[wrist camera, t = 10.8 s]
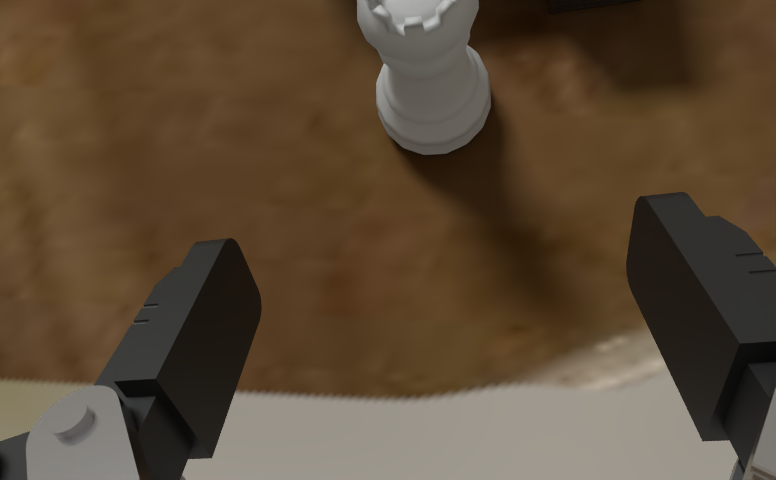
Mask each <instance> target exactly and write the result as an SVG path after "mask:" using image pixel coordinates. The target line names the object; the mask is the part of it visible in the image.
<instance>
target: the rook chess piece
mask: <svg viewBox="0 0 776 480" xmlns="http://www.w3.org/2000/svg"><path fill="white" fill-rule="evenodd" d="M478 9H479V0H357V22H358V24H359V26H360V28H361V30H362V32H363V35H364V37H365V39H366V41H367V42H368V43H370V44H371V45H372V46H373V47H374V48H375V49H376V50H377V51H378V53H379V55H380V57H381V59H382V62H383V63H384V65H383V67H382V70H381V72H380V75H379V77H378V80H377V83H376V106H377V108H378V110H379V116H380V119H381V121H382V123H383V125H384V128H385V130H386V132H387V134H388V135H389V136H390V137H391V138H393V139H394V140H395V141H396V142H397V143H398V144H399V145H400V146H401V147H403V148H405V149H408V150H411V151H414V152H417V153H419V154H422V155H432V154H447V153H449V152H451V151H453V150H455V149H457V148H460V147H462V146H464V145H466V144H468V143H469V142H470V140H471V139H472V138H473V137H474V136H475V135H476V134H477V133H478V132H479V131H480V130H481V129H482V128H483V126H484V123H485V121H486V118H487V116H488V113H489V110H490V108H491V94H490V82H489V74H488V72H487V70H486V68H485V66H484V64H483V62H482V60H481V58H480V56H479V55H478V53H477V52H476V51H474V50H473V49H472V48H471V47H470V46H468V45H467V44H468V41H469V39H470V30H471V27H472V24H473V22H474V19H475V17H476V14H477V12H478Z"/></svg>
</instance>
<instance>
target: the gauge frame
mask: <svg viewBox="0 0 776 480" xmlns="http://www.w3.org/2000/svg"><path fill="white" fill-rule="evenodd" d="M630 1H637V0H548V2H549V10H550V14H551V13H558V12H564V11H571V10H577V9H584V8H591V7H597V6H604V5H611V4H617V3H624V2H630Z"/></svg>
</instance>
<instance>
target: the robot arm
mask: <svg viewBox="0 0 776 480" xmlns="http://www.w3.org/2000/svg"><path fill="white" fill-rule="evenodd" d="M626 268H627V277H628V282H629V286H630V289H631V291H632V294H633V296H634V298H635V300H636V302H637V304H638V306H639V308H640V310H641V313H642V315H643V317H644V319H645V321H646V323H647V325H648V327H649V329H650V331H651V334H652V336H653V338H654V340H655V342H656V344H657V346H658V348H659V350H660V353H661V355H662V357H663V359H664V361H665V363H666V365H667V367H668V369H669V371H670V374H671V376H672V377H673V380H674V382H675V384H676V386H677V388H678V390H679V392H680V395H681V397H682V399H683V401H684V403H685V405H686V407H687V409H688V411H689V413H690V415H691V418H692V420H693V422H694V424H695V426H696V428H697V430H698V432H699V434H700V437H701V438H702V441H721V440H730V442H731V444H732V446H733V448H734V449H735V451H736V453H737V455H738V459H737V461H736V463H735V465H734V467H733V470H732V473H731V476H730V480H776V267H775V266H774V264H773V263H772V262H771V261H770V260H769V259H768V257H767V256H763V251H762V250H761V249H760V248H759V247H758V246H757V244H756V243H755V242H754V241H753V240H752V239H751V237H750V236H749V235H748V234H747V233H746V232H745V231H744V230H742V229H740V228H738V227H737V226H735V225H733V224H732V223H730V222H728V221H727V220H725V219H723V218H722V217H720V216H711V217H705V216H704V214H703V213H702V212H701V210H700V209H699V208H698V207H697V205H696V204H695V203H694V201H693V200H692V199H691V197H690V196H689V195H688V194H687V193H685V192H678V193H669V194H659V195H650V196H640V197H639V198H638V199H637V201H636V204H635V208H634V215H633V221H632V228H631V234H630V241H629V247H628V254H627V262H626ZM260 317H261V297H260V293H259V290H258V288H257V286H256V283H255V281H254V279H253V276H252V274H251V272H250V270H249V267H248V265H247V263H246V260H245V258H244V256H243V254H242V251H241V249H240V247H239V245H238V243H237V242H236V241H235V240H234V239H231V238H229V239H220V240H210V241H201V242H196V243H195V244H193V246H192V247H191V249H190V251H189V252H188V254H187V256H186V258H185V259H184V261H183V263H182V264H181V266H180V267H177V268H174V269H173V270H172V271H171V272H170V273H168V274H167V275H166V276H165V277H164V278H163V279H162V280H161V281H160V282H159V283H158V284H156V285H155V287H154V289H153V290H152V292H151V293H150V295H149V297H148V298H147V300H146V302H145V303H144V308H142V309H141V310H140V311H139V313H138V315H137V316H136V318H135V319H134V325H131V326H130V328H129V329H128V331H127V332H126V334H125V336H124V337H123V339H122V341H121V342H120V344H119V346H118V347H117V349H116V350H115V352H114V354H113V355H112V357H111V359H110V360H109V362H108V363H107V365H106V367H105V368H104V370H103V372H102V373H101V375H100V376H99V378H98V380H97V381H96V383H95V385H94V386H89V387H85V388H82V389H79V390H77V391H74V392H73V393H70V394H68V395H67V396H65V397H64V398H62V399H60V400H59V401H57V402H56V403H55V404H53V405H52V406H51V407H50V408H49V409H48V410H47V411H46V412H45V413H44V414H43V415H42V416H41V417H40V418H39V419H38V421H37V422H36V423H35V425H34V426H33V428H32V429H31V431H30V432H27V433H24V434H21V435H18V436H15V437H12V438H9V439H6V440H3V441H0V480H185V478H184V477H183V475H182V473H183V470H184V468H185V465H186V463H187V460H188V459H201V458H212V456H213V453H214V450H215V448H216V445H217V442H218V439H219V436H220V433H221V430H222V427H223V424H224V422H225V418H226V416H227V413H228V410H229V407H230V404H231V401H232V399H233V396H234V393H235V390H236V387H237V384H238V381H239V378H240V376H241V373H242V370H243V367H244V364H245V361H246V358H247V355H248V352H249V350H250V347H251V344H252V341H253V338H254V335H255V332H256V329H257V326H258V324H259V321H260Z"/></svg>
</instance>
